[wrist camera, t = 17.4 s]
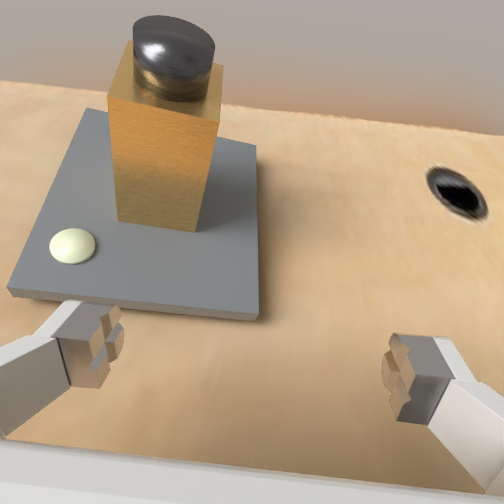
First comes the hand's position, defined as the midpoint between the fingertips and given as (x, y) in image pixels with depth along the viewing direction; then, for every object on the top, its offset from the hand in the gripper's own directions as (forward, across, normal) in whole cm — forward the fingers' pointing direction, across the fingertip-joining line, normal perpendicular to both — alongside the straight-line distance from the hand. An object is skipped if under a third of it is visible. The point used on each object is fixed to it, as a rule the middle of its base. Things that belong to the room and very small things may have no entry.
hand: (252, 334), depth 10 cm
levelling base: (+15, +8, +4) cm, 18 cm away
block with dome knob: (+15, +7, +2) cm, 16 cm away
